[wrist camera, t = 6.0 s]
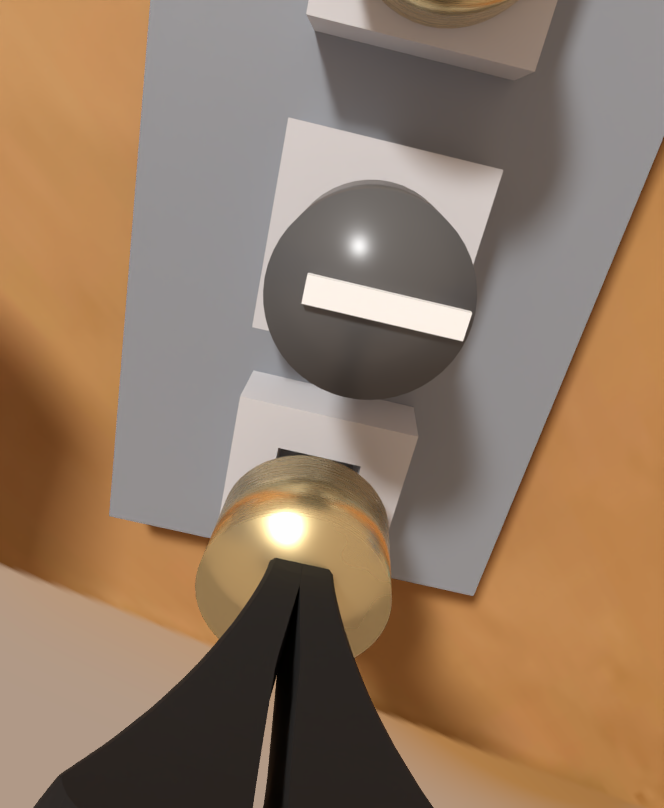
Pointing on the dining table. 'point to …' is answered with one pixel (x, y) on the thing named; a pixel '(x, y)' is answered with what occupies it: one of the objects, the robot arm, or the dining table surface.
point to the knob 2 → (449, 11)
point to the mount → (389, 161)
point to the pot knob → (370, 291)
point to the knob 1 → (301, 542)
